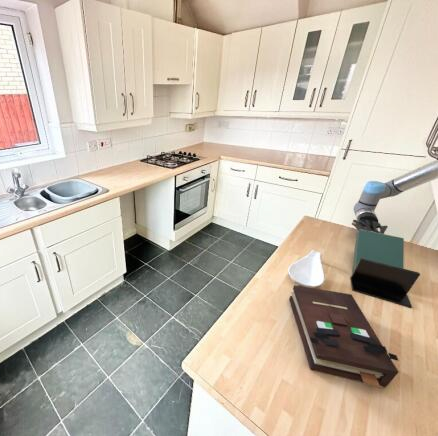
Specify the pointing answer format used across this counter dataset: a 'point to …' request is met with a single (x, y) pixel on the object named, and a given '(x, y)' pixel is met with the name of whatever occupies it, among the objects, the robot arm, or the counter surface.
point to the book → (379, 248)
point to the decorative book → (340, 337)
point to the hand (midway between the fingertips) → (375, 241)
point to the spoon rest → (308, 270)
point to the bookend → (383, 281)
